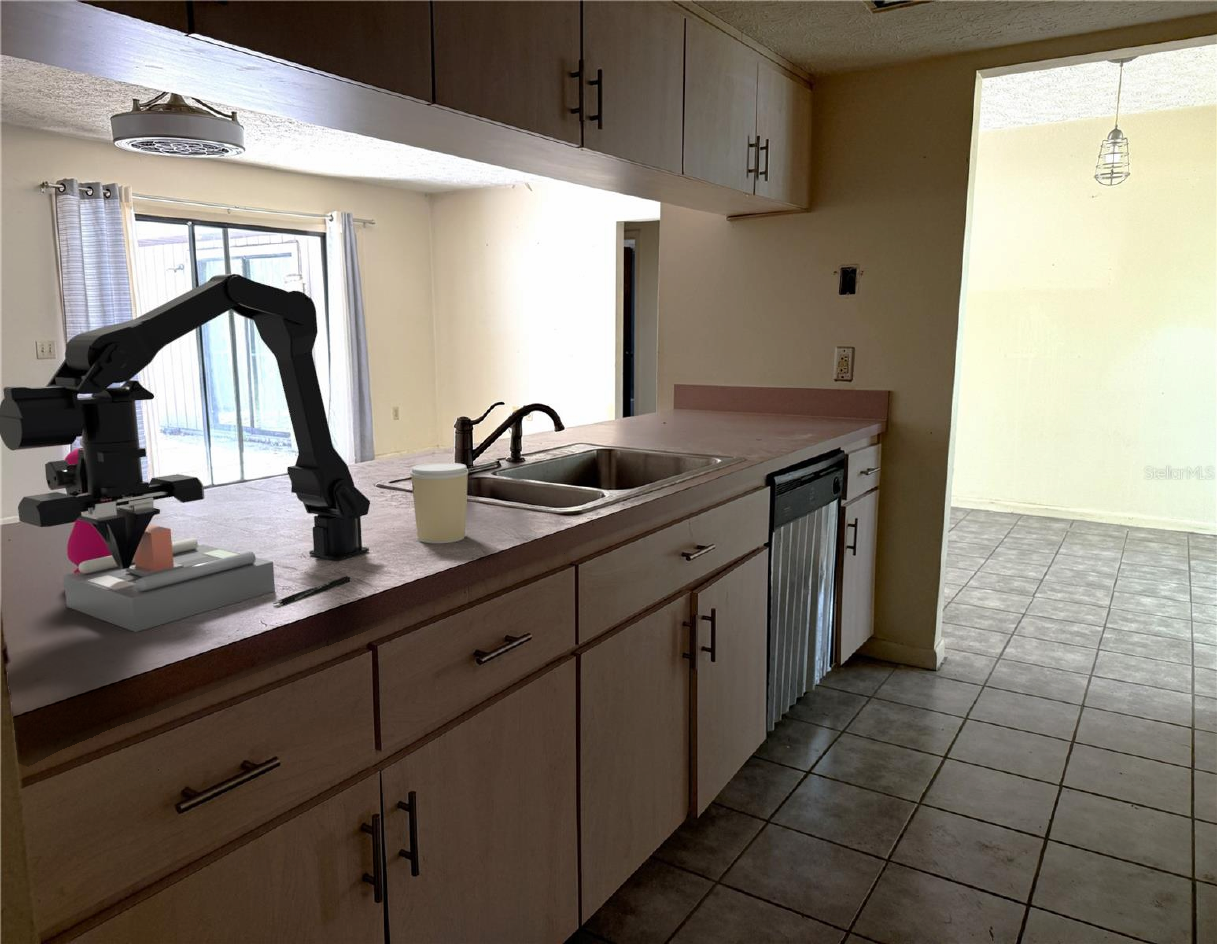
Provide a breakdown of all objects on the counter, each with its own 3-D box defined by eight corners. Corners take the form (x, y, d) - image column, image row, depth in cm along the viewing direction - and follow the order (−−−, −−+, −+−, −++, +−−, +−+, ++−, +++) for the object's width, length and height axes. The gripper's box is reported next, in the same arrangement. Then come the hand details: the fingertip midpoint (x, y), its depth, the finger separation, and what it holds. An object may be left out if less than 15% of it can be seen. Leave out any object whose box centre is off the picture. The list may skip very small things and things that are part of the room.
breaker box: (204, 571, 116) (201, 533, 115) (274, 590, 108) (272, 549, 107) (66, 606, 101) (61, 562, 100) (135, 632, 93) (130, 584, 92)
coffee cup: (436, 528, 142) (434, 460, 140) (481, 534, 138) (479, 464, 136) (400, 540, 134) (397, 468, 132) (447, 547, 130) (444, 473, 128)
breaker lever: (161, 563, 105) (157, 522, 104) (183, 569, 103) (180, 527, 102) (125, 571, 102) (121, 529, 101) (148, 578, 99) (144, 535, 98)
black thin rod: (278, 609, 101) (277, 601, 101) (272, 608, 102) (271, 600, 102) (351, 583, 112) (350, 576, 112) (345, 582, 113) (345, 575, 112)
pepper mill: (142, 572, 116) (129, 432, 113) (113, 588, 109) (98, 439, 105) (90, 572, 116) (75, 432, 112) (58, 588, 109) (41, 439, 105)
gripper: (153, 428, 108) (163, 542, 111) (-12, 444, 93) (5, 576, 95) (201, 434, 102) (211, 554, 105) (34, 452, 87) (51, 593, 90)
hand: (124, 568), depth 99 cm, fingers closed
